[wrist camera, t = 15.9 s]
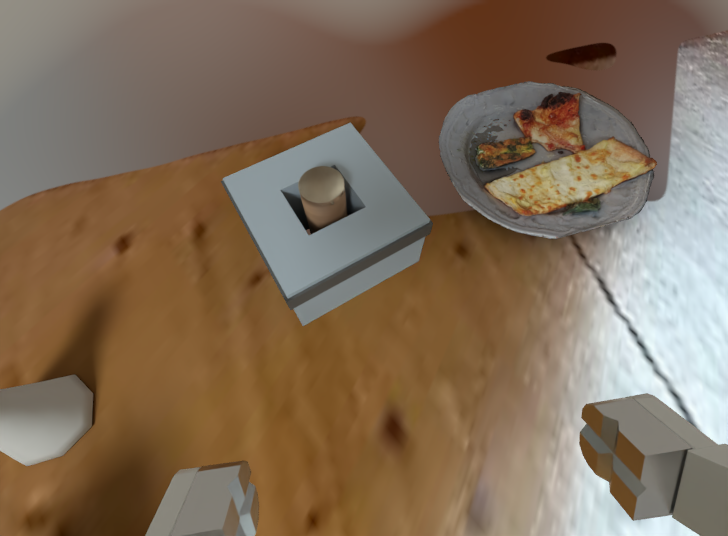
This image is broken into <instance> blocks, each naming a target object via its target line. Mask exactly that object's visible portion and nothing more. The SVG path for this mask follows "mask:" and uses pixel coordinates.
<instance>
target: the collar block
mask: <svg viewBox="0 0 728 536" xmlns="http://www.w3.org/2000/svg"><path fill="white" fill-rule="evenodd" d="M319 166H327V167H331V168H334V169H336V170H337V171H339V172H340V173H341V175H342V176H343V178H344V183H345V194H346V205H347V217H345V218H343V219H341V220H339V221H337V222H335V223H333V224H331V225H329V226H327V227H325V228H323V229H321V230H319V231H317V232H315V233H313V234H311V235H308V234H307V232H306V230H307V229H309V225H308V222H307V218H306V214H305V211H304V207H303V203H302V200H301V196H300V192H299V188H298V183H299V180H300V178H301V176H302V175H303V174H304V173H305V172H306V171H308V170H309V169H311V168H314V167H319ZM221 183H222V184H223V186H224V188H225V190H226V192H227V194H228V195H229V197H230V199H231V201H232V203H233V205H234V207H235V208H236V210H237V212H238V214H239V216H240V218H241V220H242V221H243V223H244V225H245V227H246V229H247V231H248V232H249V234H250V236H251V238H252V240H253V242H254V244H255V245H256V247H257V249H258V251H259V253H260V255H261V257H262V258H263V260H264V262H265V264H266V266H267V268H268V270H269V271H270V273H271V275H272V277H273V279H274V281H275V282H276V284H277V286H278V288H279V290H280V292H281V294H282V295H283V297H284V299H285V301H286V303H287V305H288V306H289V308H290V310H292V309H294V311H295V312H296V314H297V316H298V318H299V320H300V322H301V323H302V325H303V326H304V325H306V324H308V323H309V322H311V321H313V320H315V319H317V318H318V317H320V316H322V315H324V314H325V313H327V312H329V311H331V310H333V309H334V308H336V307H338V306H340V305H341V304H343V303H345V302H347V301H349V300H350V299H352V298H354V297H356V296H357V295H359V294H361V293H363V292H364V291H366V290H368V289H370V288H372V287H373V286H375V285H377V284H379V283H380V282H382V281H384V280H386V279H388V278H389V277H391V276H393V275H395V274H396V273H398V272H400V271H402V270H404V269H405V268H407V267H409V266H411V265H412V264H414V263H416V262H418V261H419V258H420V254H421V250H422V247H423V243H424V239H425V236H427V235H429V234H430V232H431V229H432V225H433V223H432V221H431V220H430V219H429V218H428V216H427V215H426V214H425V213H424V212H423V211H422V209H421V208H420V207H419V205H418V204H417V203H416V202H415V201H414V200H413V198H412V197H411V196H410V195H409V193H408V192H407V191H406V190H405V188H404V187H403V186H402V185H401V184H400V183H399V182H398V180H397V179H396V178H395V176H394V175H393V174H392V173H391V171H390V170H389V169H388V168H387V167H386V165H385V164H384V163H383V162H382V161H381V159H380V158H379V157H378V156H377V155H376V154H375V152H374V151H373V150H372V149H371V147H370V146H369V145H368V143H367V142H366V141H365V140H364V139H363V137H362V136H361V135H360V134H359V133H358V131H357V130H356V129H355V128H354V126H353V125H352V124H351V123H348V124H346V125H344V126H341V127H339V128H337V129H335V130H332V131H330V132H328V133H325V134H323V135H321V136H319V137H316V138H314V139H312V140H309V141H307V142H305V143H303V144H300V145H298V146H296V147H293V148H291V149H289V150H287V151H284V152H282V153H280V154H277V155H275V156H273V157H271V158H268V159H266V160H264V161H262V162H259V163H257V164H255V165H252V166H250V167H248V168H246V169H243V170H241V171H239V172H236V173H234V174H232V175H230V176H227V177H225V178H223V181H221Z"/></svg>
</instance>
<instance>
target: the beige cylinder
mask: <svg viewBox="0 0 728 536" xmlns="http://www.w3.org/2000/svg"><path fill="white" fill-rule="evenodd" d="M298 188H299V192H300V196H301V200H302V203H303V207H304V211H305V214H306V218H307V222H308V225H309V229H310V233H311V234H313V233H315V232H317V231H319V230H321V229H323V228H325V227H327V226H329V225H331V224H333V223H335V222H337V221H339V220H341V219H343V218H345V217H347V205H346V194H345V183H344V178H343V176H342V175H341V173H340V172H339V171H337V170H336V169H334V168H331V167H327V166H319V167H314V168H311V169H309V170H308V171H306V172H305V173H304V174H303V175H302V176H301V178H300V180H299V183H298Z"/></svg>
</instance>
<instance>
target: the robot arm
mask: <svg viewBox="0 0 728 536" xmlns="http://www.w3.org/2000/svg"><path fill="white" fill-rule="evenodd" d="M582 419H583V420H584V421H585V422H586V423H587V424H586V425H585V427H584V428H583V429H582V430H581V432H580V442H579V443H580V447H581V450H582V454H583V456H584V458H585V460H586V462H587V463H588V465H589V466H590V468H591V469H592V470H593V471H594V473H595V474H596V475H598V476H599V477H601V478H603V479H605V480H607V481H608V482H609V485H610V493H611V494H612V495H613V496H614V498H615V499H616V500H617V501H618V503H619V504H620V505H621V506H622V507H623V509H624V510H625V511H626V512H627V514H628V515H629V516H630V517H631V519H632V520H633V521H634V520H641V519H647V518H654V517H661V516H668V515H673V516H672V517H673V518H674V519H676V520H677V521H679V522H680V523H682V524H683V525H685V526H686V527H688V528H689V529H691V530H692V531H694V532H696V533H697V534H699V535H700V536H728V445H727V444H721V445H718V444H716V443H715V442H714V441H712V440H711V439H710V438H709V437H707V436H706V435H705V434H703V433H702V432H701V431H699V430H698V429H697V428H696V427H694V426H693V425H692V424H690V423H689V422H688V421H686V420H685V419H684V418H682V417H681V416H680V415H679V414H677V413H676V412H675V411H673V410H672V409H671V408H669V407H668V406H667V405H666V404H664V403H663V402H662V401H660V400H659V399H658V398H656V397H655V396H653V395H650V394H641V395H635V396H630V397H626V398H618V399H613V400H607V401H601V402H596V403H590V404H586V405H585V406H584V408H583V409H582ZM250 475H251V470H250V467H249V464H248V462H247V461H238V462H230V463H223V464H216V465H208V466H202V467H197V468H190V469H182V470H179V471H178V472H177V473H176V474H175V475H174V477H173V479H172V481H171V483H170V485H169V487H168V489H167V491H166V493H165V495H164V497H163V499H162V501H161V504H160V506H159V508H158V510H157V512H156V514H155V516H154V518H153V520H152V522H151V524H150V526H149V529H148V531H147V533H146V535H145V536H254V535H255V534H256V531H257V525H258V519H259V501H258V494H257V490H256V487H255V486H254V485H253V484H251V483H250V482H249V479H250Z"/></svg>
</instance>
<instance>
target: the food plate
mask: <svg viewBox="0 0 728 536" xmlns="http://www.w3.org/2000/svg"><path fill="white" fill-rule="evenodd" d="M439 149H440V154H441V159H442V162H443V164H444V166H445V169H446V171H447V172H448V173H447V174H449V177H450V180H451V182H452V183H453V185H454V187H456V190H457V191H458V194H459V195H460V196H461V198H462V199H463V201H465V203H467V204H469V205H470V206H471V207H472V208H473V209H475V210H477V211H478V212H479V213H481V214H482V215H484V216H486V217H487V218H488V219H490V220H492V221H493V222H494V223H498V224H499V225H501V226H503V227H506V228H507V229H511V230H513V231H516V232H520V233H523V234H528V235H532V236H538V237H545V238H549V239H556V238H561V237H565V236H568V235H572V234H575V233H579V232H582V231H584V232H585V231H587V230H591V229H594V228H598V227H601V226H605V225H608V224H612V223H615V222H619V221H623V220H627V218H628V219H630V218H631V217H633V216H635V215H636V214H638V213H639V212H640V211H641V210H642V208H643V207H644V205H645V203H646V201H647V197H648V194H649V189H650V186H651V183H652V180H653V178H654V172H653V169H654V168H655V166H656V165H657V162H656V161H655V160H654V159H653V158H650V154H649V150H648V148H647V146H646V145H645V144H644V141H643V139H642V137H640V135H639V134H638V132H637V130H636V128H635V127H634V125H633V124H632V122H630V121H629V120H628V119H627V118H626V117H625V116H623V114H621V113H620V112H619V111H618V110H617V109H615V108H614V107H612V106H611V105H609V104H607V103H605V102H603V101H601V100H600V99H597V98H596V97H594V96H592V95H590V94H588V93H587V92H585V91H582V90H580V89H577V88H572V87H565V86H564V87H563V86H562V87H561V86H557V85H555V84H553V83H547V84H545V83H544V84H542V83H535V82H530V81H529V82H524V83H519V84H514V85H509V86H506V87H500V88H496V89H494V90H493V89H492V90H490V91H489V90H488V91H485V92H481V93H478V94H474V95H468V96H467V97H465V98H464V99H462V100H461V101H459V102H457V103H456V104H455V105H454V106H453V107H452V108H451V109H450V111H449V112H448V114H447V116H446V117H445V120H444V122H443V128H442V130H441V132H440V136H439Z"/></svg>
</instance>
